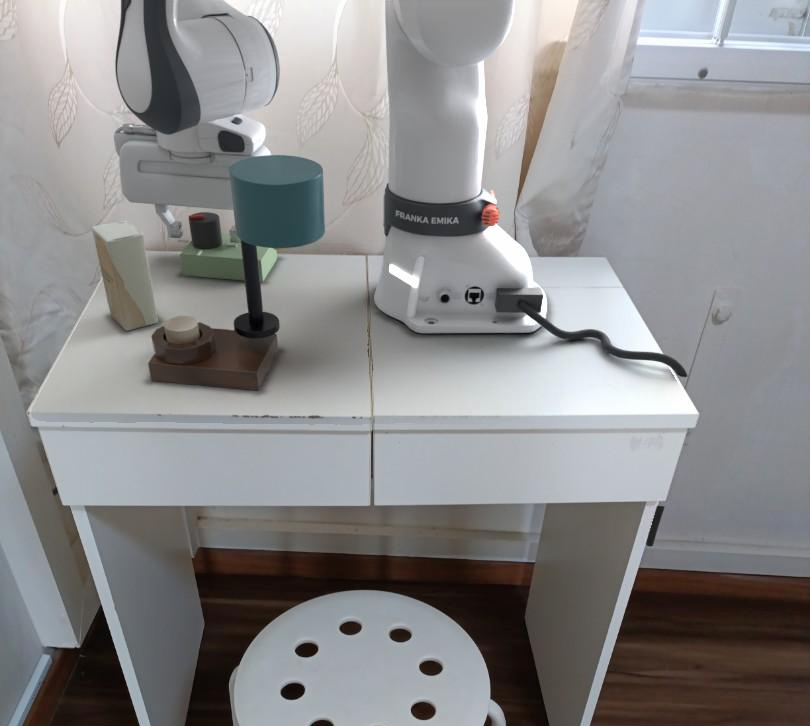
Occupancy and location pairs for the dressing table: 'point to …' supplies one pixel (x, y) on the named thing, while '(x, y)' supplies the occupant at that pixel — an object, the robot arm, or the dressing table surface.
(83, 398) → the dressing table surface
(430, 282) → the robot arm
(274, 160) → the lamp
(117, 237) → the box
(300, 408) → the dressing table surface
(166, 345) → the lamp base
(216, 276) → the dimmer panel
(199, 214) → the dimmer knob
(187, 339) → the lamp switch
